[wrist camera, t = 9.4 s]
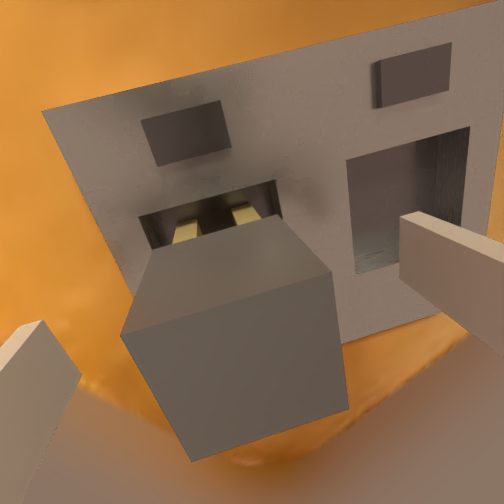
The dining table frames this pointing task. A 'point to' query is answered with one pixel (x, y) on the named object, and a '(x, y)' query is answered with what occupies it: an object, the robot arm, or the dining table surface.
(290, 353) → the plug
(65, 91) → the dining table surface
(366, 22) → the dining table surface
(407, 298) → the socket
